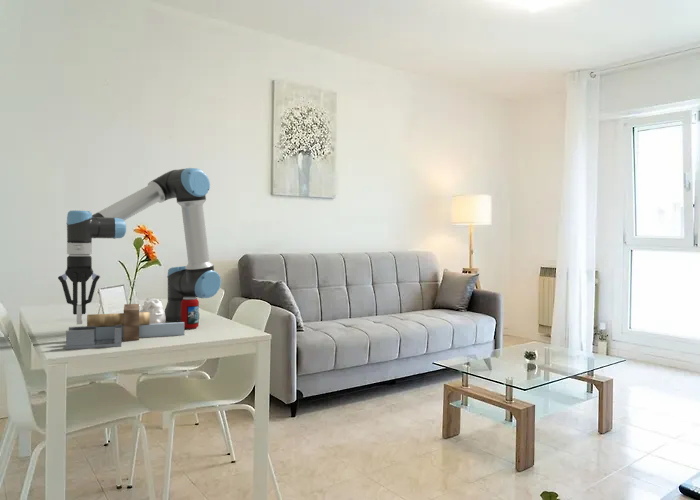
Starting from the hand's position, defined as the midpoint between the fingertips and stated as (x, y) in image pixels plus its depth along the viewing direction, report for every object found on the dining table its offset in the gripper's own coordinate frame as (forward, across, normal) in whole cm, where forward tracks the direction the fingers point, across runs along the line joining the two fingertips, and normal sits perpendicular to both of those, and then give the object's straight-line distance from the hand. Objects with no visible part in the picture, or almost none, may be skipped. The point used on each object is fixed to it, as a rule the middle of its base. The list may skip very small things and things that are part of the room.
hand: (79, 323), depth 177 cm
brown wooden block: (+6, +16, +2) cm, 18 cm away
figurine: (+6, +24, +16) cm, 30 cm away
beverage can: (+6, +38, +13) cm, 40 cm away
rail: (+6, +20, 0) cm, 20 cm away
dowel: (-1, +12, 0) cm, 13 cm away
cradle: (+6, +6, -11) cm, 13 cm away
